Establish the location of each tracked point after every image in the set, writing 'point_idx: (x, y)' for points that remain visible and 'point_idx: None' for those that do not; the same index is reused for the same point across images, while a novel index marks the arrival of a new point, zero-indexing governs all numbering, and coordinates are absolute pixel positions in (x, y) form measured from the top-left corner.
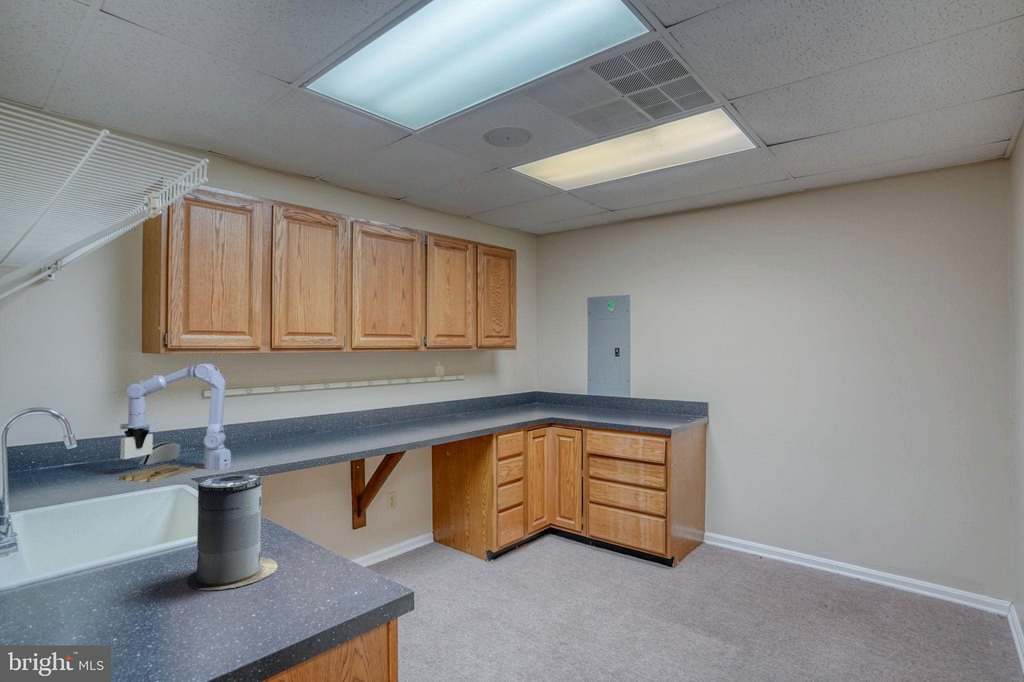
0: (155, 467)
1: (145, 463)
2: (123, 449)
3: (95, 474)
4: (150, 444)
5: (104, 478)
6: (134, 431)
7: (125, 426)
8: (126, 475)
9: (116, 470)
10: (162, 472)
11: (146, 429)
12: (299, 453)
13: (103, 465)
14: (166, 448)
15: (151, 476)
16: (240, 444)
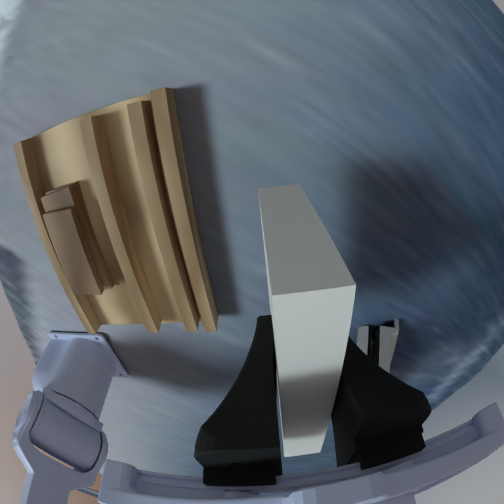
0: (202, 287)
1: (375, 335)
2: (277, 217)
3: (441, 173)
4: (278, 392)
5: (337, 118)
6: (245, 446)
7: (443, 461)
8: (127, 106)
9: (420, 249)
10: (45, 220)
11: (172, 479)
12: (131, 450)
13: (492, 279)
14: None
15: (70, 184)
16: (322, 464)
